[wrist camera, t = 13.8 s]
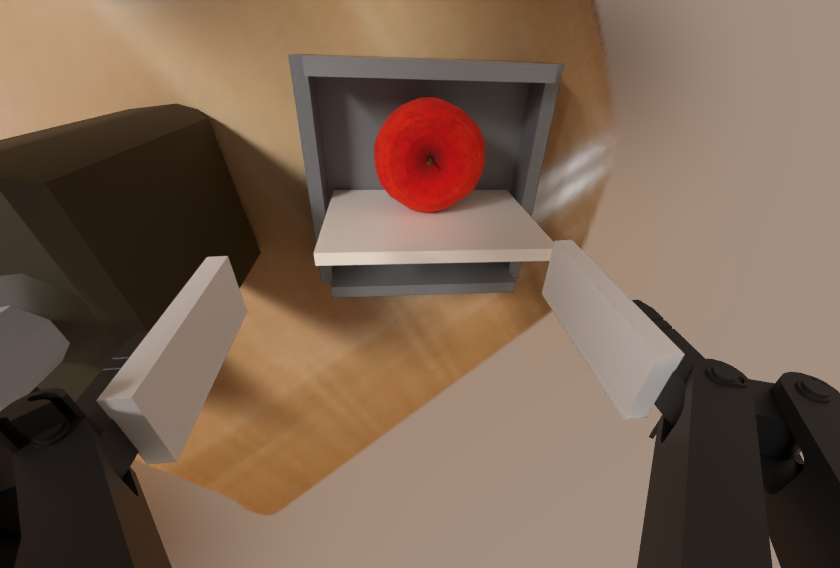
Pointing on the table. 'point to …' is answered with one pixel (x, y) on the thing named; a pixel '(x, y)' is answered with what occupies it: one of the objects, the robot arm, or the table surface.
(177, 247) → the bottle
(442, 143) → the apple
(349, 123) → the grey tray
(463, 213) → the plate
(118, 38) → the table surface
